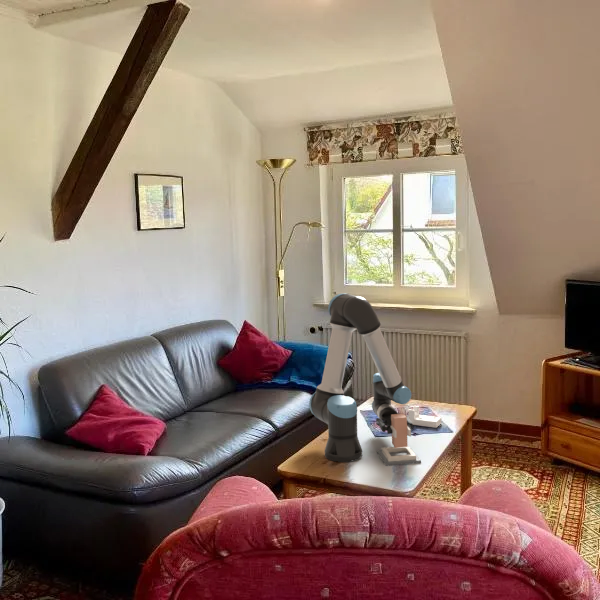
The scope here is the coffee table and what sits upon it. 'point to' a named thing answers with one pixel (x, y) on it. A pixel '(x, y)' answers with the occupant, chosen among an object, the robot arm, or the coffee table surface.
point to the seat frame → (398, 455)
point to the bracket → (423, 418)
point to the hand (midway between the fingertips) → (402, 433)
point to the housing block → (399, 430)
